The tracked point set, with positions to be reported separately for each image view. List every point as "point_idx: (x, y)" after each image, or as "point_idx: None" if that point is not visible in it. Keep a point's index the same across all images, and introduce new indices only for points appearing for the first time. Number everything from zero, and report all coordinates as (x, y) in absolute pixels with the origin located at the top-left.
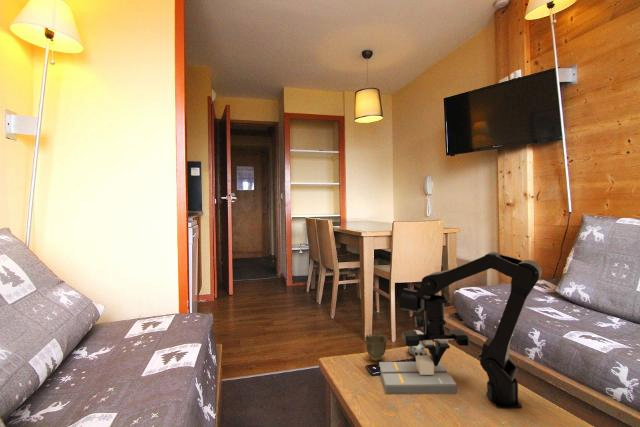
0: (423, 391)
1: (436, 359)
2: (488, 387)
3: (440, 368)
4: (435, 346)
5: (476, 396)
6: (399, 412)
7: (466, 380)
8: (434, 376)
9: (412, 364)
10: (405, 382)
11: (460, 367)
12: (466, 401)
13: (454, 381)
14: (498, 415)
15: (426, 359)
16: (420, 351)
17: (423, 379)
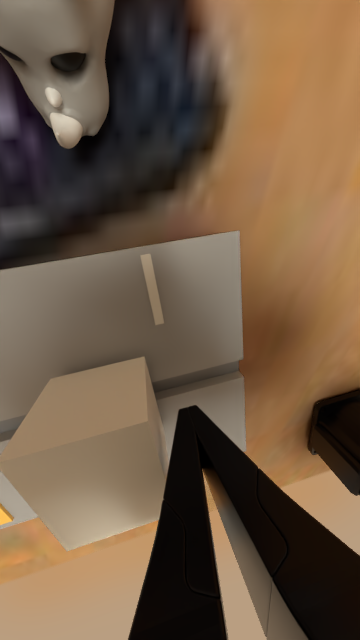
0: None
1: (208, 480)
2: (341, 465)
3: (214, 339)
4: (283, 602)
5: (282, 417)
6: (42, 546)
7: (297, 328)
8: (166, 425)
9: (14, 320)
10: (18, 510)
11: (330, 192)
12: None
13: (245, 436)
14: (293, 470)
15: (121, 493)
16: (48, 34)
17: None
